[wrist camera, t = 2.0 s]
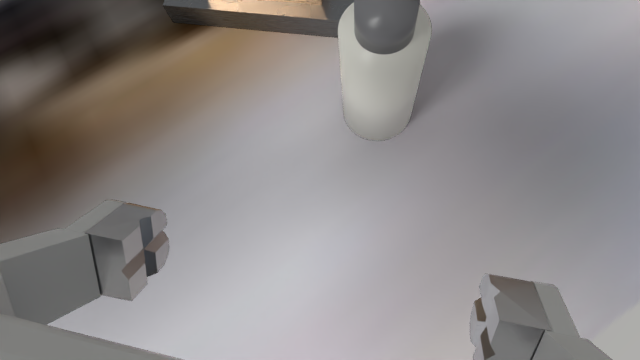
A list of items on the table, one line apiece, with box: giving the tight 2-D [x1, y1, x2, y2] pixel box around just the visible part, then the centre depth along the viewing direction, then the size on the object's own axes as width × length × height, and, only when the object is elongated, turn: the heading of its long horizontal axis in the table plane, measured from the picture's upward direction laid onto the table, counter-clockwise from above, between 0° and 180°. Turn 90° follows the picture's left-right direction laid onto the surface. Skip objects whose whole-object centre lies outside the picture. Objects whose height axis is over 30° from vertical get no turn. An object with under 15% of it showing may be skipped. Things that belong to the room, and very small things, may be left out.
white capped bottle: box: [338, 0, 432, 141], centre depth 26 cm, size 5×5×11 cm
